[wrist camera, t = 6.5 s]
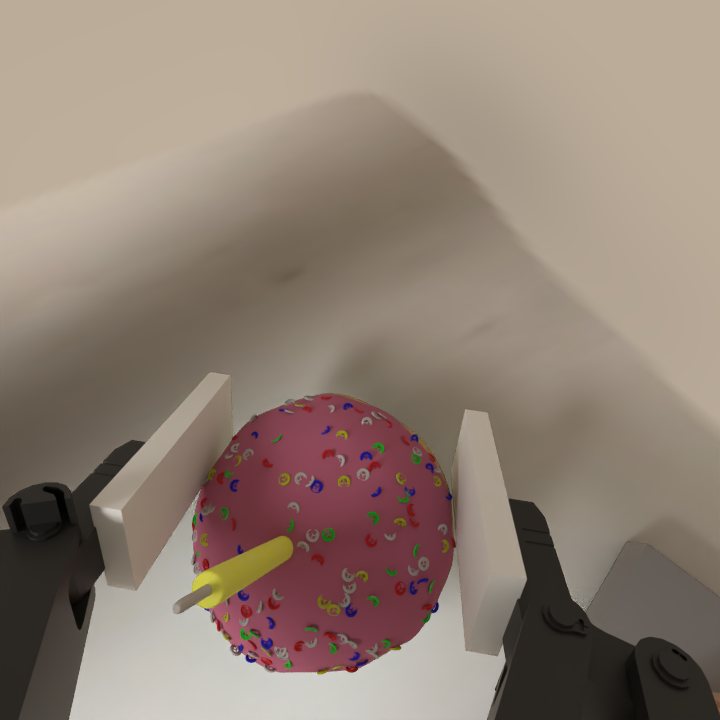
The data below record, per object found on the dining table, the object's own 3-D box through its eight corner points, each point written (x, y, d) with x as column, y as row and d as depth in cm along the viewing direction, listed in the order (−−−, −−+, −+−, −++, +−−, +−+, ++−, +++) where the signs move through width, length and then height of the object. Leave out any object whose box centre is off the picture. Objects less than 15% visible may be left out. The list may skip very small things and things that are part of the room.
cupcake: (309, 687, 17) (192, 1016, 6) (195, 500, 20) (-46, 481, 8) (478, 540, 19) (643, 578, 7) (354, 383, 21) (337, 230, 10)
